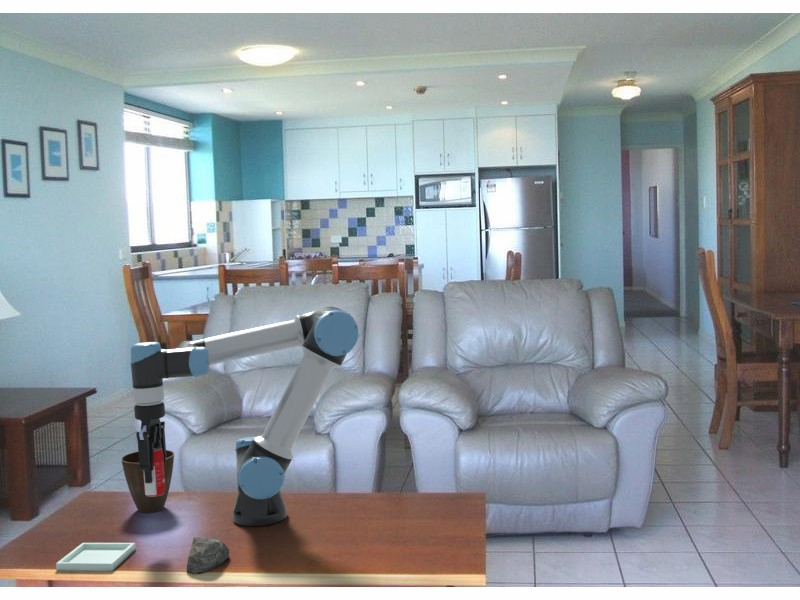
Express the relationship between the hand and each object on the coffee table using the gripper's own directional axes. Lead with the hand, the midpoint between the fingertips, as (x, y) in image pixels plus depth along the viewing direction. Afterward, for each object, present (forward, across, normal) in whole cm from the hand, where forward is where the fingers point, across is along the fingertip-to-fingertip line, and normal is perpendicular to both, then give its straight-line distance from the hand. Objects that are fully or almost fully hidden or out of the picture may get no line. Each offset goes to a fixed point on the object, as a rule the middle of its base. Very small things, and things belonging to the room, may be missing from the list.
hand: (155, 491), depth 223 cm
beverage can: (+1, 0, 0) cm, 1 cm away
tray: (+14, +11, -12) cm, 21 cm away
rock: (+15, +13, +17) cm, 26 cm away
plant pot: (+14, -29, -14) cm, 35 cm away
